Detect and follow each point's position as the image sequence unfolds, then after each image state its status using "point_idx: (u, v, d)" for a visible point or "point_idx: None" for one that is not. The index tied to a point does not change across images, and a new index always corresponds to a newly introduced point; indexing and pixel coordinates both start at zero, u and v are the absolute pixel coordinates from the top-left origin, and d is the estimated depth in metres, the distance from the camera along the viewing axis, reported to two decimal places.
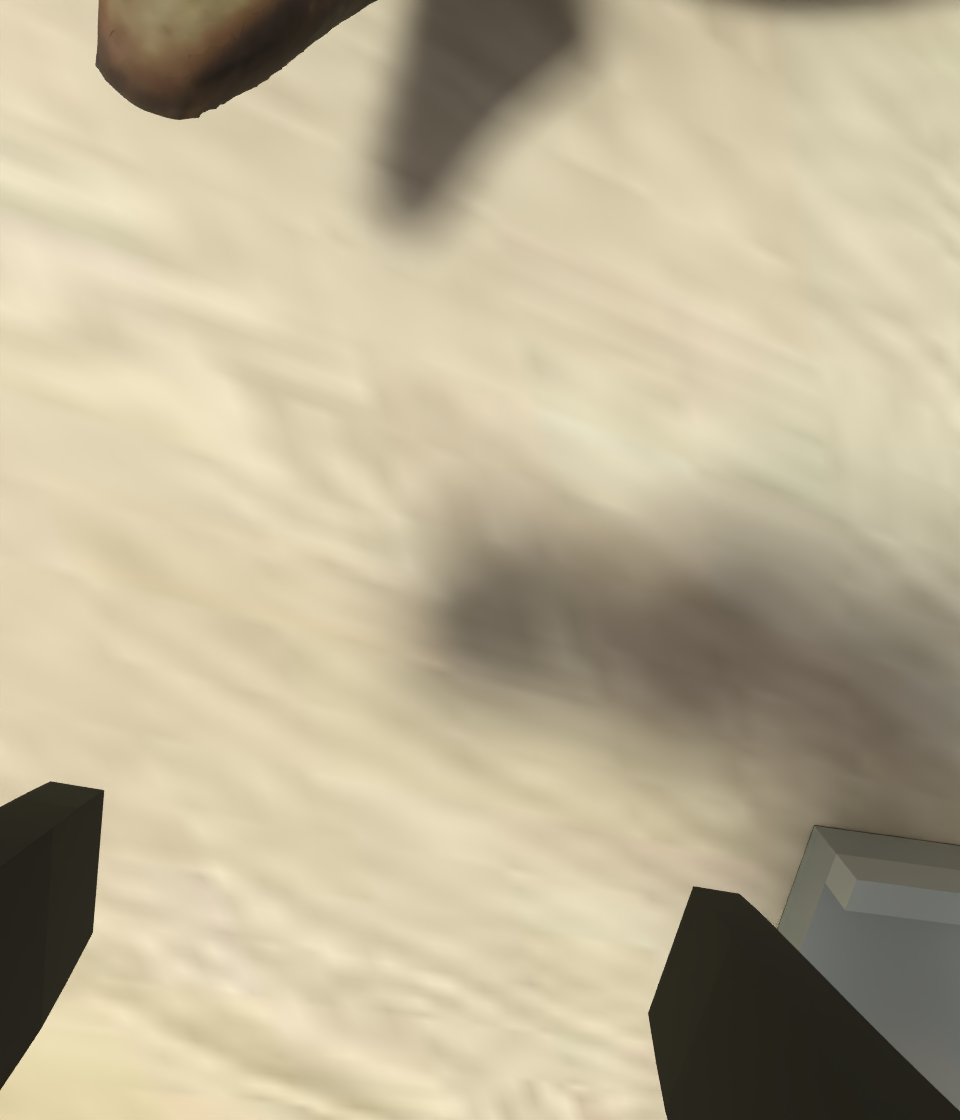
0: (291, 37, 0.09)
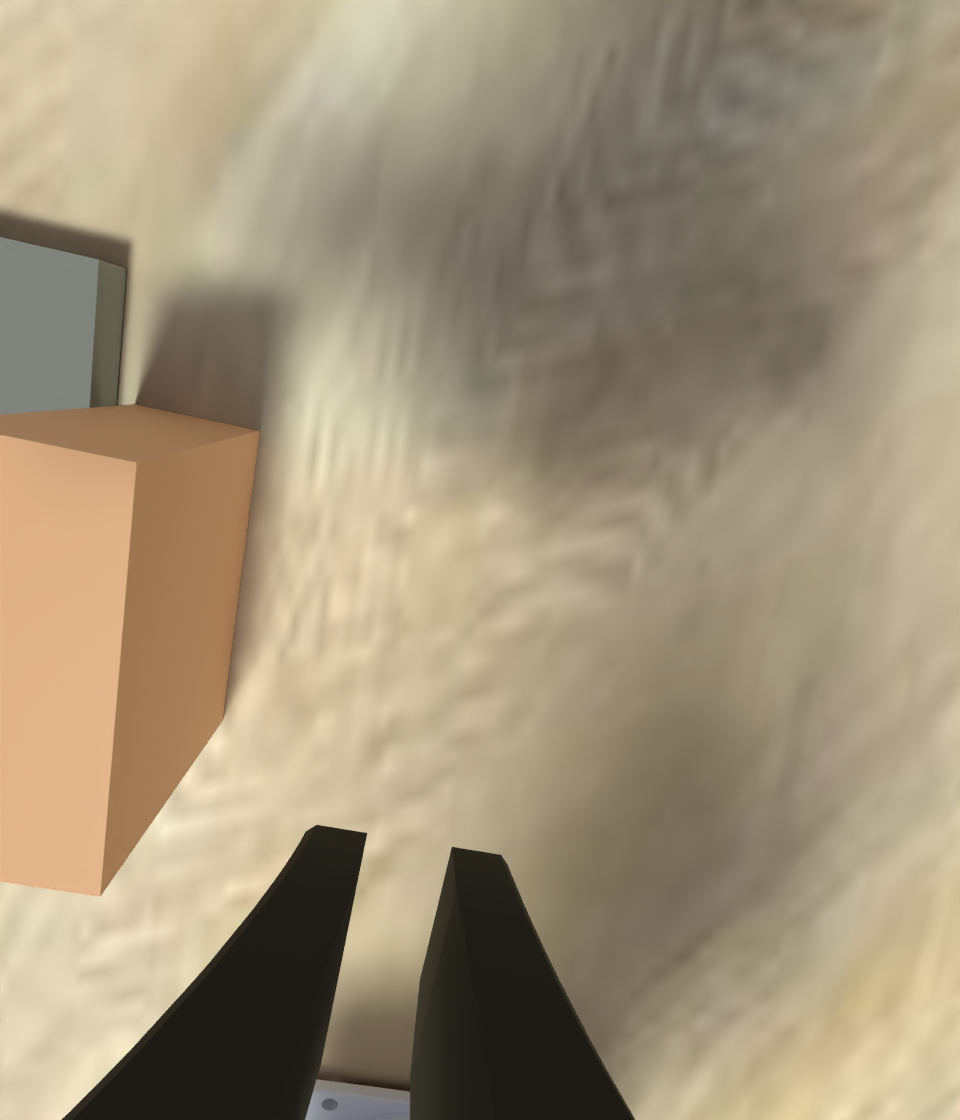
0: None
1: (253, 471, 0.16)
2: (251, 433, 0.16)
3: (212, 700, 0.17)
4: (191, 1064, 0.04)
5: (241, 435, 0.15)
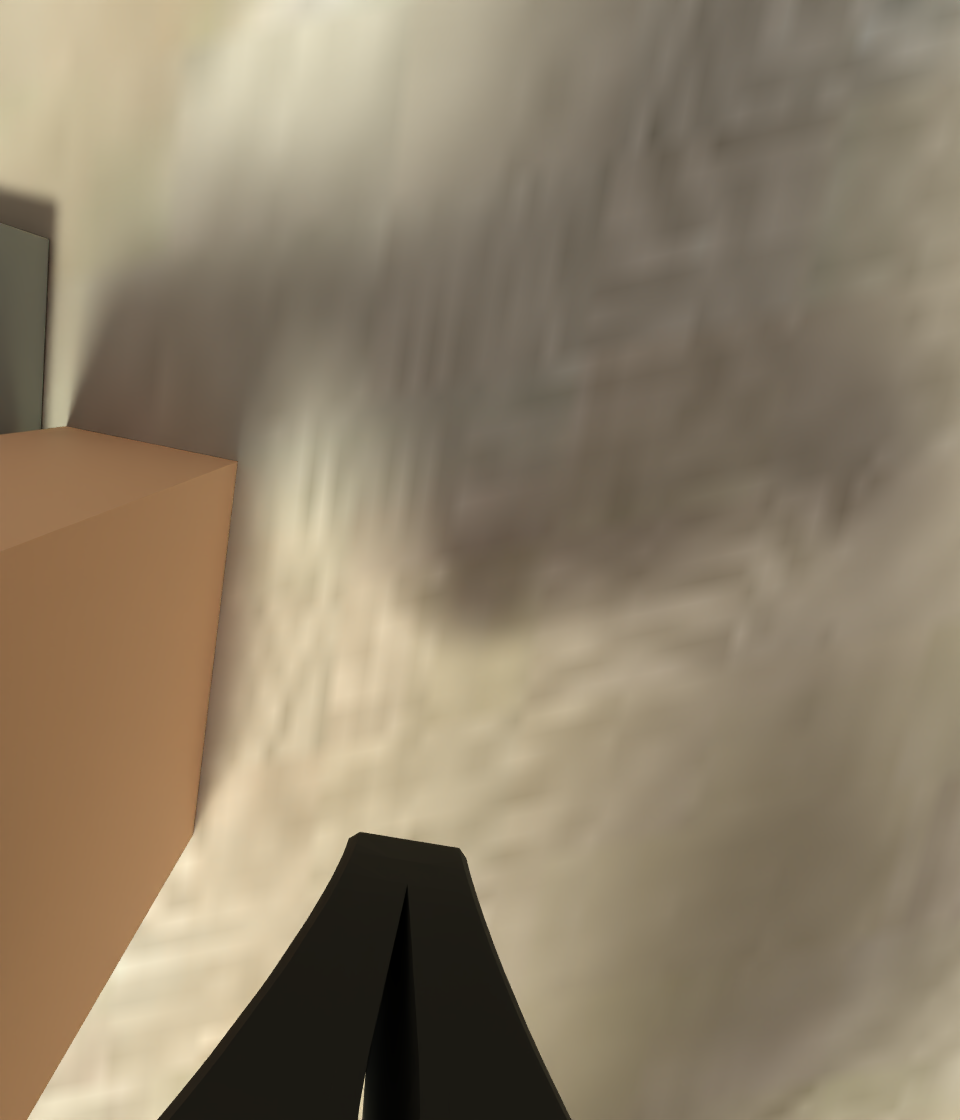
0: None
1: (228, 516, 0.12)
2: (224, 466, 0.11)
3: (175, 820, 0.13)
4: (269, 1075, 0.04)
5: (208, 472, 0.11)
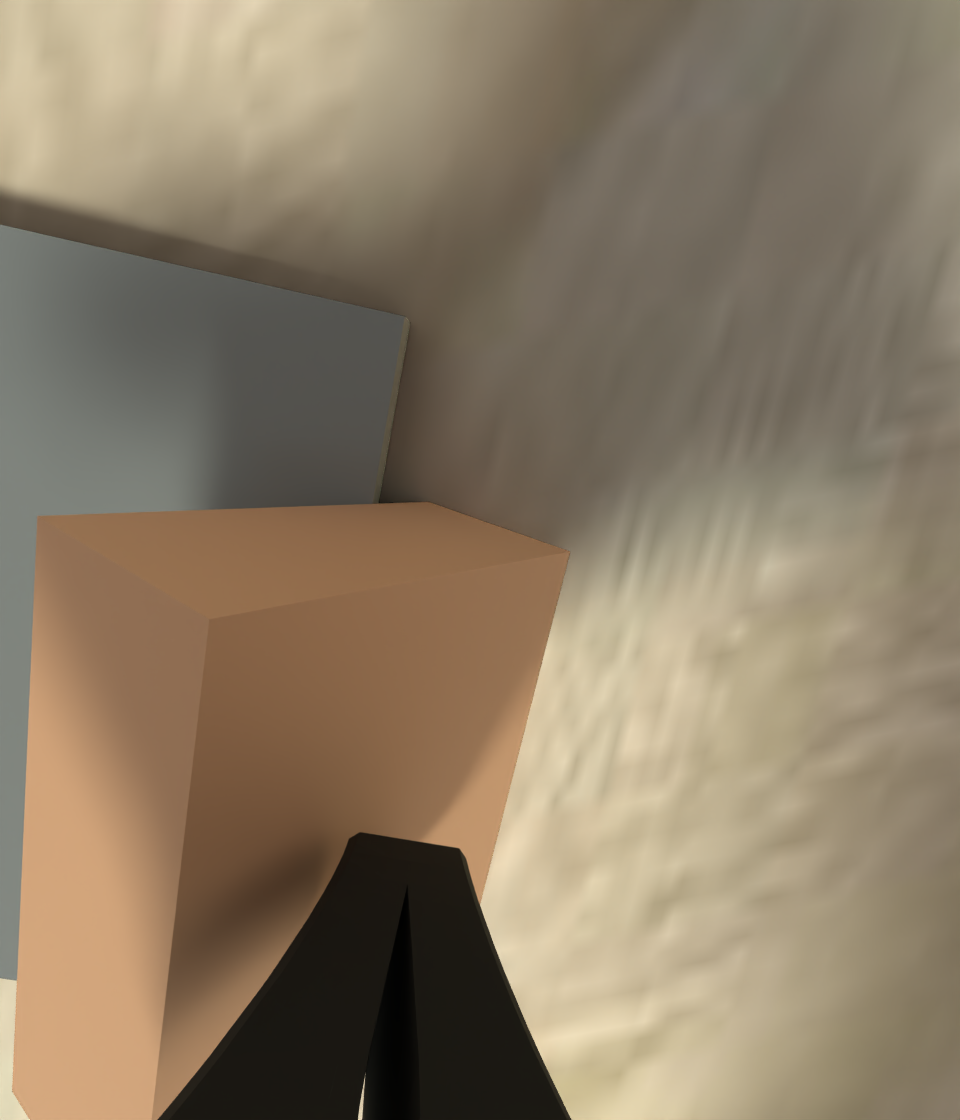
0: None
1: (550, 610, 0.11)
2: (548, 556, 0.10)
3: None
4: (268, 1073, 0.04)
5: (523, 559, 0.10)
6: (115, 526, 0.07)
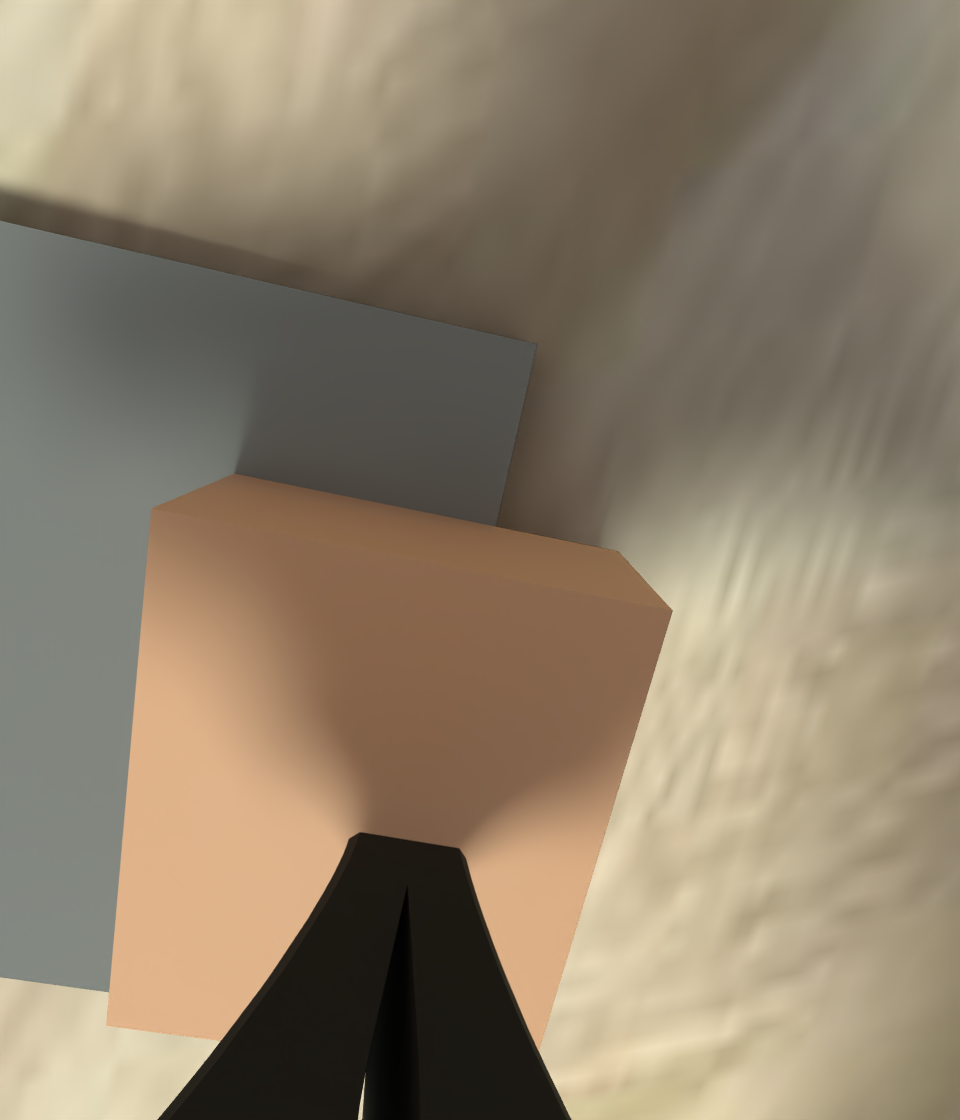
0: None
1: (638, 679, 0.09)
2: (617, 600, 0.08)
3: None
4: (268, 1075, 0.04)
5: (562, 589, 0.08)
6: (259, 484, 0.10)
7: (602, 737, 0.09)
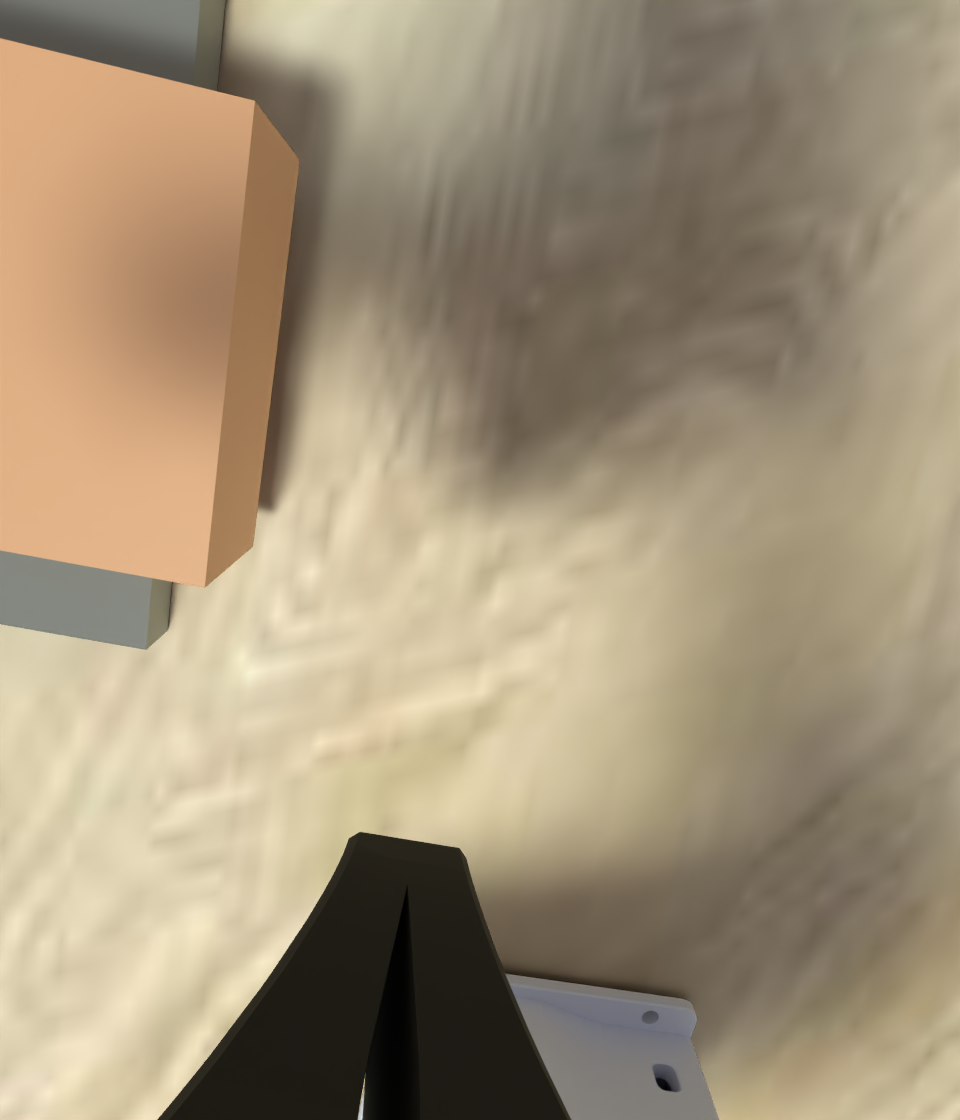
0: None
1: (236, 169, 0.10)
2: (207, 90, 0.10)
3: (141, 510, 0.12)
4: (267, 1076, 0.04)
5: (159, 78, 0.10)
6: None
7: (214, 228, 0.11)
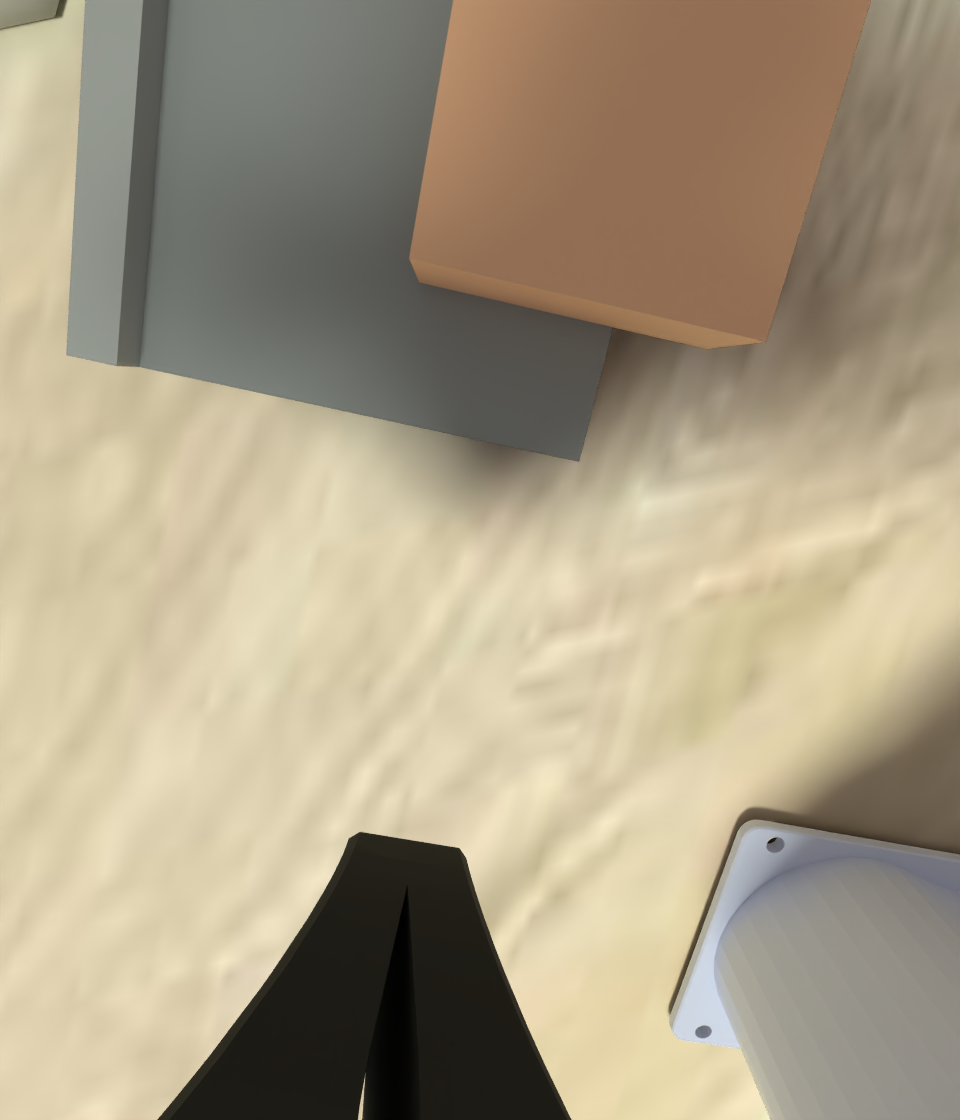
0: None
1: None
2: None
3: (721, 253, 0.12)
4: (267, 1075, 0.04)
5: None
6: None
7: None
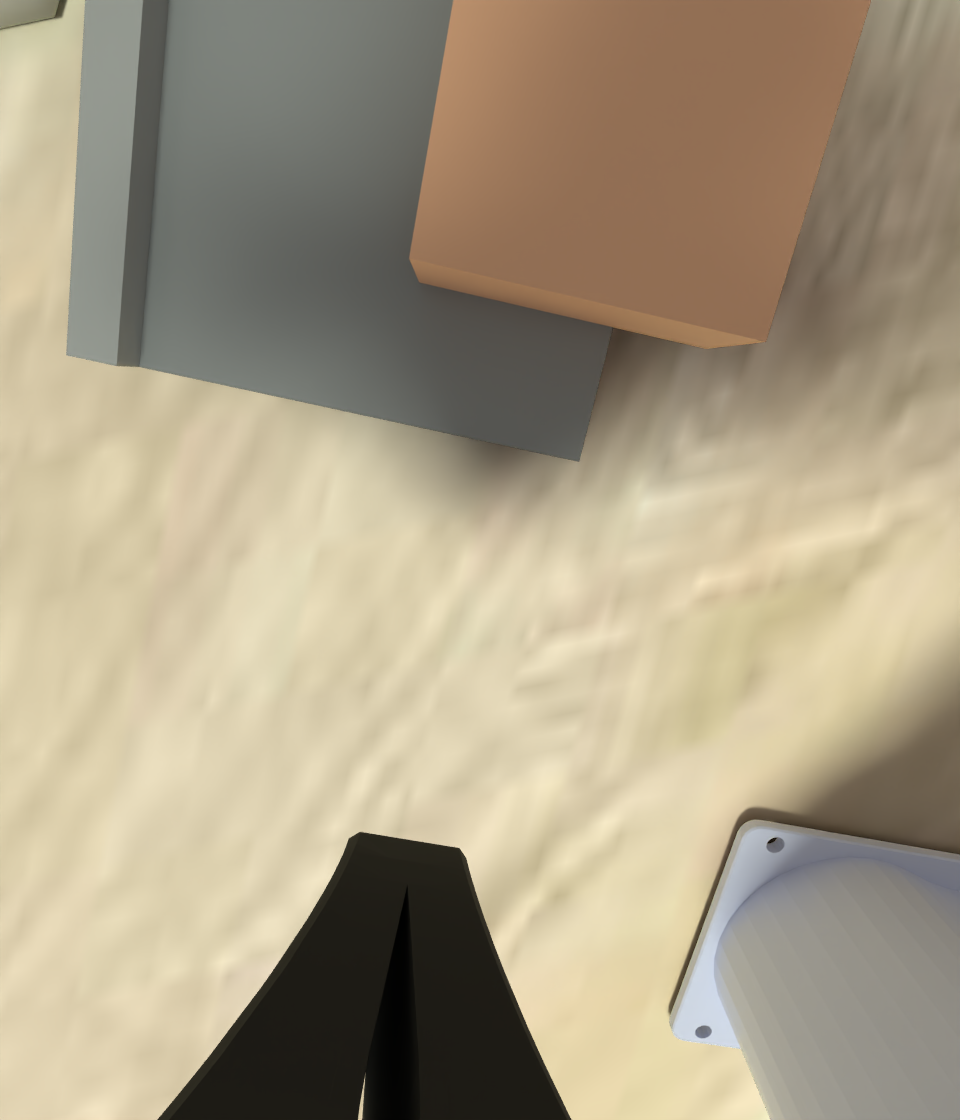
0: None
1: None
2: None
3: (721, 253, 0.12)
4: (267, 1075, 0.04)
5: None
6: None
7: None
